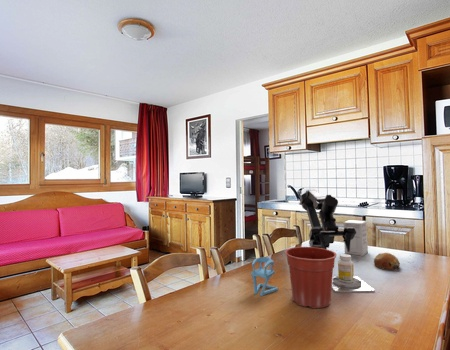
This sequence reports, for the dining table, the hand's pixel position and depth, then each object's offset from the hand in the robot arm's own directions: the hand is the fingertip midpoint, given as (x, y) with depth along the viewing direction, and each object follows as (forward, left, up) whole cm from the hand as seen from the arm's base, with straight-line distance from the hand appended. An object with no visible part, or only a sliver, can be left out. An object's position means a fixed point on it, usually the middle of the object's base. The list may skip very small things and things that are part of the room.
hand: (337, 251), depth 115 cm
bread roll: (+13, +26, -11) cm, 31 cm away
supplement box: (-5, +42, -11) cm, 44 cm away
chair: (-17, -31, -11) cm, 36 cm away
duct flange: (+5, -7, -10) cm, 13 cm away
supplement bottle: (+5, -7, -9) cm, 12 cm away
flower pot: (0, -28, -11) cm, 30 cm away
